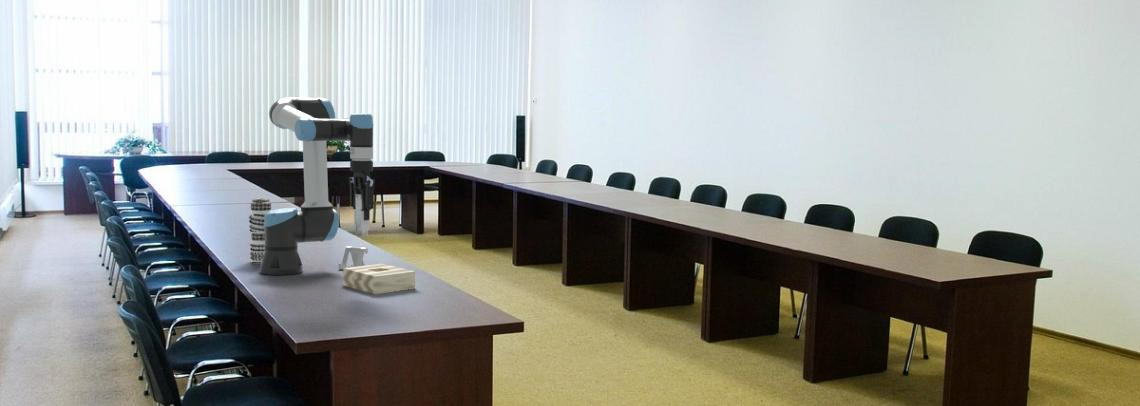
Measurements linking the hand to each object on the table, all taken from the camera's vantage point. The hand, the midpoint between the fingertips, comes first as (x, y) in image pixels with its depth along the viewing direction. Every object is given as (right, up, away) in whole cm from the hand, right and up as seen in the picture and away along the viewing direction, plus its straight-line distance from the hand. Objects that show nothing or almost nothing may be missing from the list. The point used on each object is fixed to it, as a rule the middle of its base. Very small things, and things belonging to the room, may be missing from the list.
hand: (361, 228), depth 321 cm
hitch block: (+4, -20, +7) cm, 22 cm away
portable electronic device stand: (-12, -17, +41) cm, 46 cm away
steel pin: (0, -2, 0) cm, 2 cm away
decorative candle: (-51, -14, +54) cm, 76 cm away
